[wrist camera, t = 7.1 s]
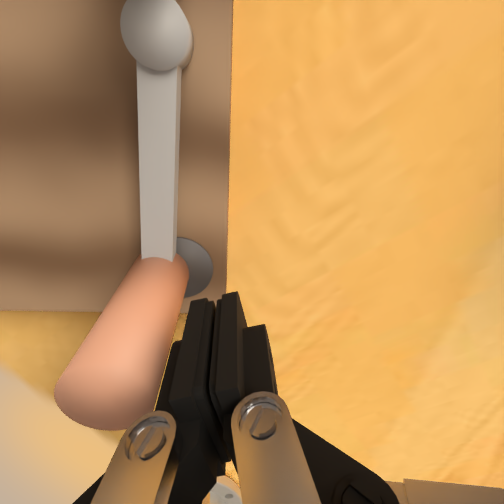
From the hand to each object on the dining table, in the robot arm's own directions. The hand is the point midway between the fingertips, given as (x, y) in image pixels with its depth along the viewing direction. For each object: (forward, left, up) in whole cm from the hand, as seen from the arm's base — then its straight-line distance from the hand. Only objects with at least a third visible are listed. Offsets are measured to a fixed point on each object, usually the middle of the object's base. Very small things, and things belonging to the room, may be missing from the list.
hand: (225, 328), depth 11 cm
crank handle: (+4, +3, -5) cm, 7 cm away
